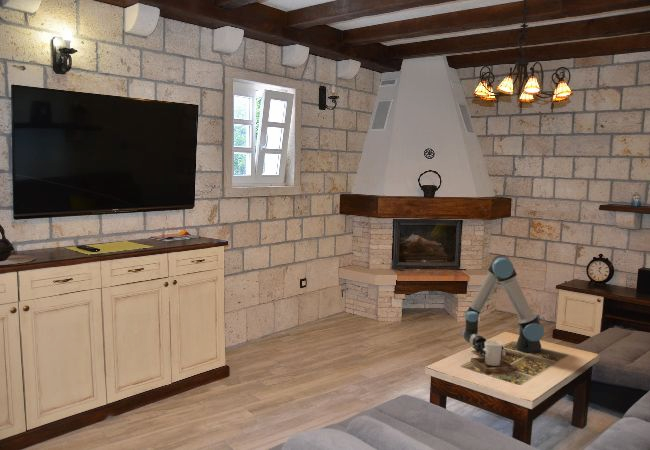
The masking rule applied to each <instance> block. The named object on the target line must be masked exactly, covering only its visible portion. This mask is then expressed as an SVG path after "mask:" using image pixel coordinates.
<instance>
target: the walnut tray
mask: <svg viewBox="0 0 650 450" xmlns="http://www.w3.org/2000/svg"><path fill="white" fill-rule="evenodd" d="M470 363H471V364H472V365H473V366H475V367H476V368H478V369H479V370H480V371H482V372H483V373H484V374H486V375H487V374H498V373H499V374H500V373H502V374H503V373H513V372H516V366H514V365H513V364H511V363H509V362H508V361H507V360H506V359H504V358H503V357H501V361H500V365H498V366H491V365H487V364H486V363H485V356H481V357H479V356H478V357H471V358H470Z"/></svg>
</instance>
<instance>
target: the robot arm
mask: <svg viewBox="0 0 650 450" xmlns="http://www.w3.org/2000/svg"><path fill="white" fill-rule="evenodd" d="M517 276H518V274H517V272H516V269H515V268H514V265H513V262H512V261H511V259H510V258H509V257H508V256H507V255H503V254H502V255H501V254H500V255H496V256H494V258H493V259H492V261H491V263H490V264H489V268H488V269H487V274H486V276H485V278H484V280H483V282H481V283H482V284H481V285H480V287H479V289H478V291H477V292H476V294H475V296H474V297H473V300H472V301H471V303H470V304H469V305H470V306H469V307H468V309H466V311H465V313H464V316H465V329H464V330H463V331H462V338H463V340H465V341H466V342H467V343H469V344H470V345H472V348H473V349H474V350H475V352H476V353H479V354H480V355H484V356H485V355H486V356H488V357H490V352H488V351H487V350H485V344H484V342H485V341H487V339H486V338H485V337H484V336H482V335H480V334H479V332H478V331H479V330H478V329H479V328H478V327H479V316H480V314H481V312H482V310H483V308H484V307H485V305H486V303H487V301H488V299H489V297H490V296H491V294H492V292H493V290H494V289H495V287H496V285H497V283H500V284H501V285H502V286H503V288H504V291H505V292H506V295H507V297H508V298H509V301H510V303H511V305H512V307H513V309H514V311H515V313H516V315H517V318H518V321H517V324H518V325H519V332H518V333H519V334H518V338H517V341H516V343H515V348H516V349H517V350H518V351H520V352H524V353H530V354H537V353H540V352H542V344H541V341H540V340H541V339H543V338H544V334H545V330H544V327H543V326H542V323H541V316H540V314H538V313H533V311H532V309H531V306H530V305H529V303H528V301H527V298H526V297H525V294H524V292H523V290H522V288H521V286H520V283H519V282H518V279H517ZM506 355H507V354H506V350H504V346H502V351H501V356H503V357H505V356H506Z"/></svg>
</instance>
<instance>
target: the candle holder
mask: <svg viewBox="0 0 650 450" xmlns="http://www.w3.org/2000/svg"><path fill="white" fill-rule="evenodd" d="M484 344H485V348H484V349H485V350H487V351H488V352H490V357H488V356H486V355H485V354H484V357H485V363H486V364H487V365H491V366H498V365H500V361H501V358H502V354H501V351H502V347H503V343H502V342H500V341H497V340H490V339H489V340H486V341H485V342H484Z"/></svg>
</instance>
